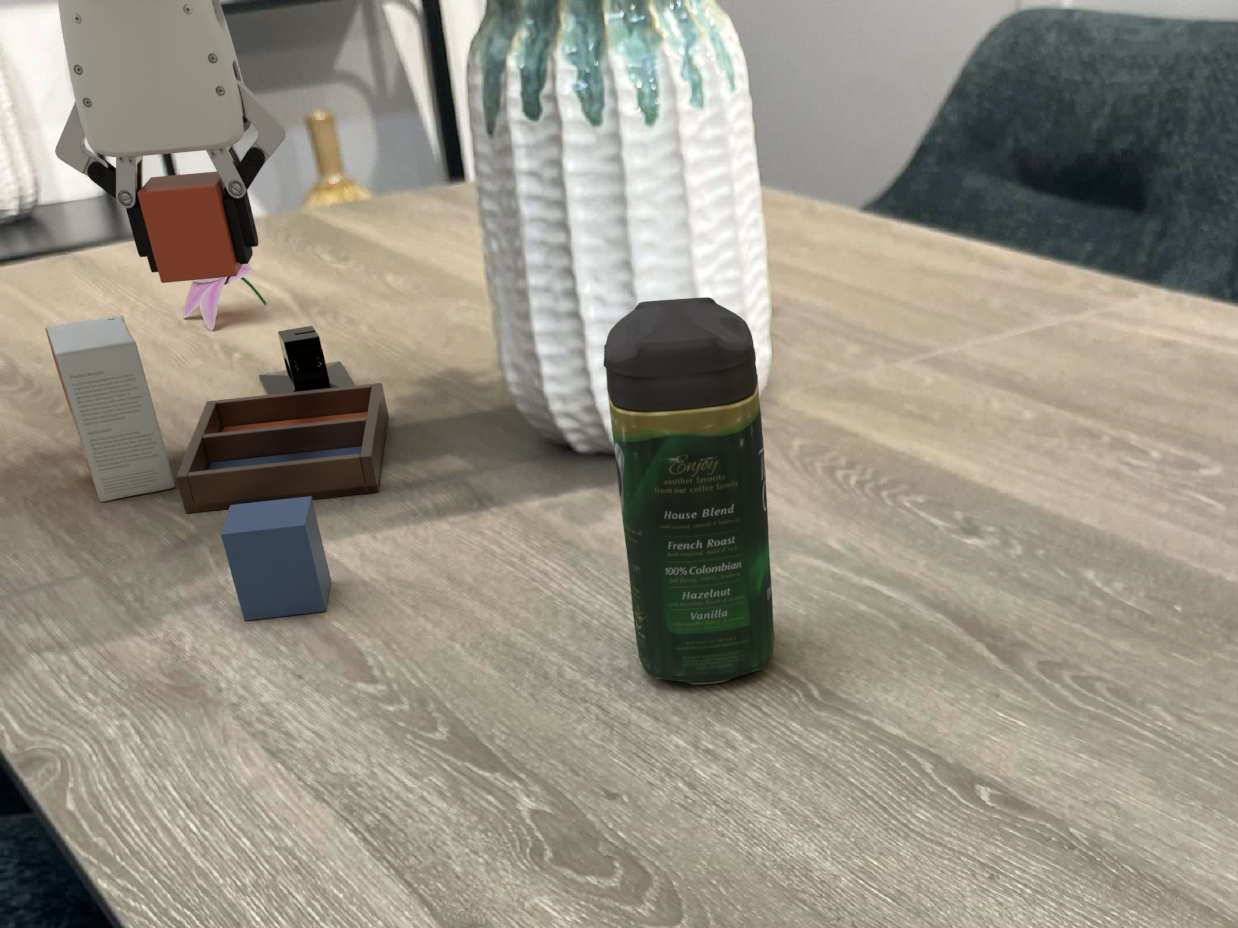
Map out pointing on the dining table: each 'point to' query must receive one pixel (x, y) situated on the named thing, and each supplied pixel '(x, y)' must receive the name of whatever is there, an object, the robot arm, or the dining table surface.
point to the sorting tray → (285, 447)
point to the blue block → (276, 558)
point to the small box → (111, 407)
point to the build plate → (304, 365)
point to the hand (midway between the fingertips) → (202, 260)
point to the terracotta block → (188, 227)
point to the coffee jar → (692, 488)
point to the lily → (212, 295)
